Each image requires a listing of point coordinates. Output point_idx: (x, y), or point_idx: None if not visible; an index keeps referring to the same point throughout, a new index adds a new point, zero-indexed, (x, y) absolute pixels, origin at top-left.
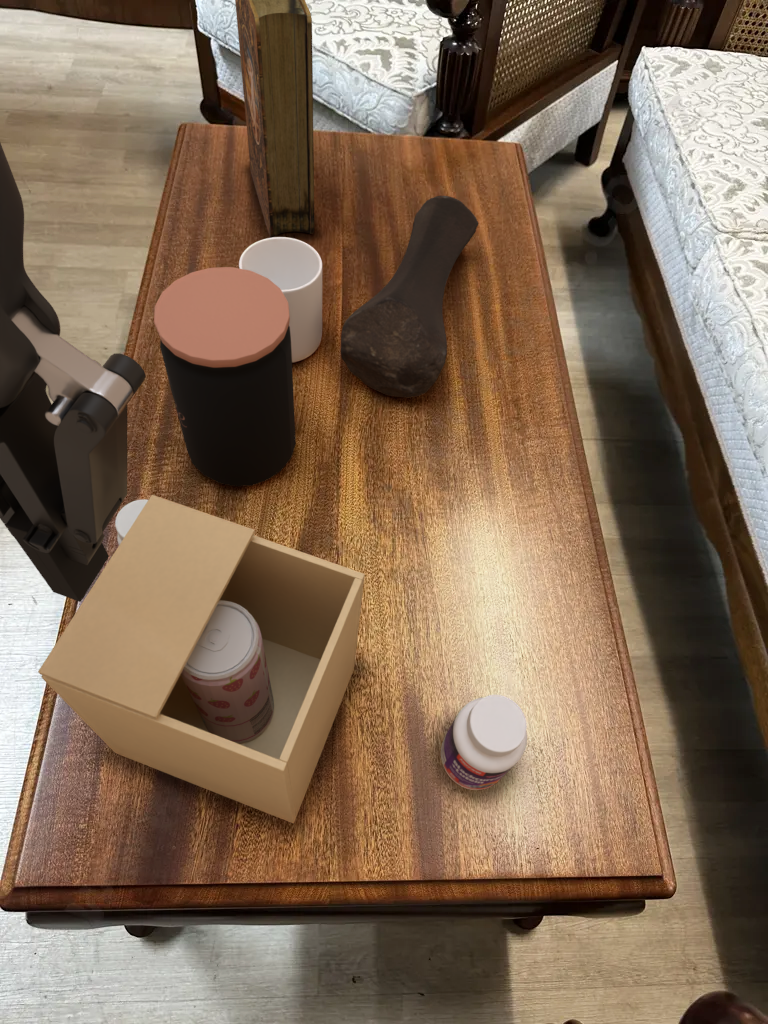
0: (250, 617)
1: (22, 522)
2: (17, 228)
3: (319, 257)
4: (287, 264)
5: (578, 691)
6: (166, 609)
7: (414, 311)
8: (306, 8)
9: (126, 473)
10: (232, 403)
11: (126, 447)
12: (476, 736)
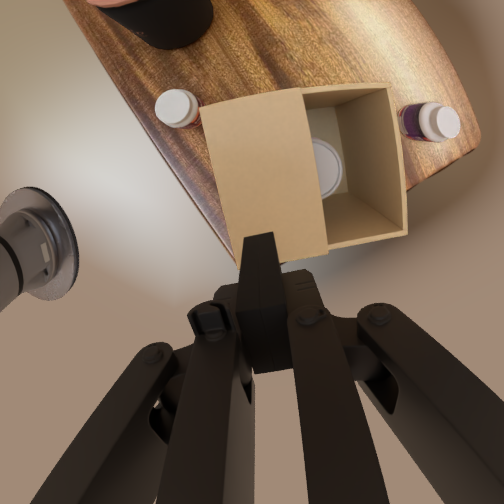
0: (325, 143)
1: (269, 365)
2: None
3: None
4: None
5: (437, 71)
6: (284, 185)
7: None
8: None
9: (440, 346)
10: (175, 3)
11: (496, 397)
12: (443, 134)
